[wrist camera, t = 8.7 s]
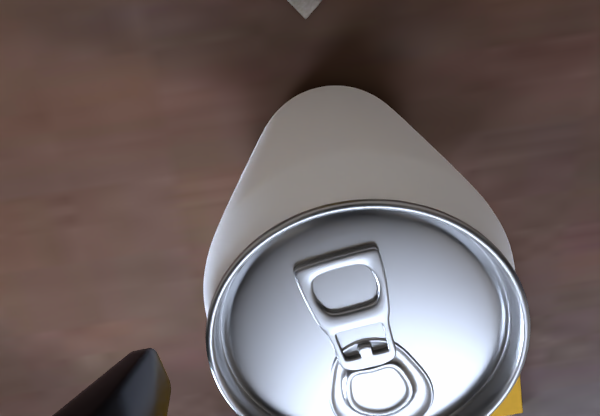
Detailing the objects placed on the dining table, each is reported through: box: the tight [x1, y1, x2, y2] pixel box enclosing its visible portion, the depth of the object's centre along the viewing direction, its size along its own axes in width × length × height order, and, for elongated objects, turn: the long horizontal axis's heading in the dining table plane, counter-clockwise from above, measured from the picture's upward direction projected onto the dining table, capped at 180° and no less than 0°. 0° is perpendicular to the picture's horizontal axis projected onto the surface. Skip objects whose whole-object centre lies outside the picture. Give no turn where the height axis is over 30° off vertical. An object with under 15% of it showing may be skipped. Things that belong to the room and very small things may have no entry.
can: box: [203, 85, 530, 416], centre depth 13 cm, size 6×6×12 cm
